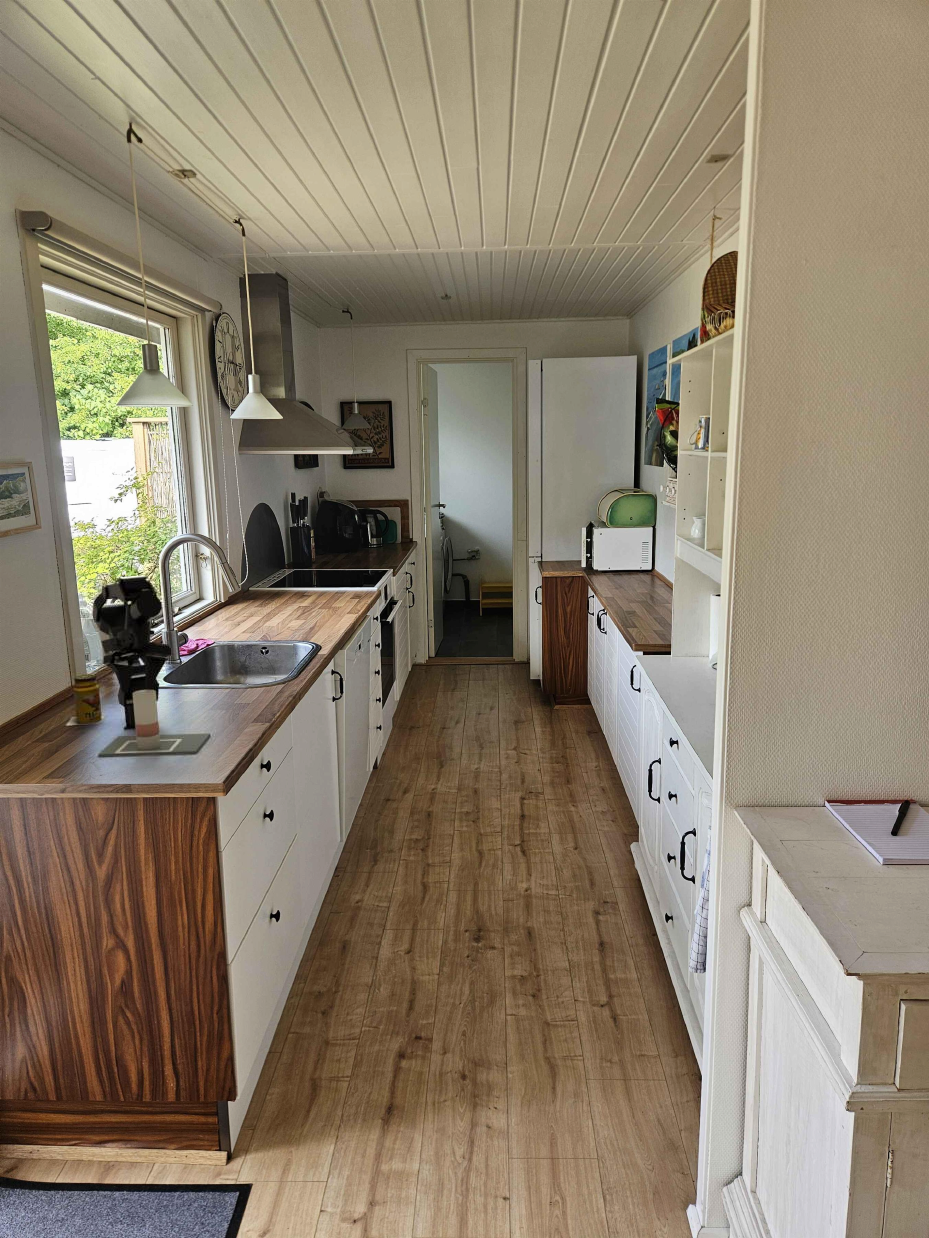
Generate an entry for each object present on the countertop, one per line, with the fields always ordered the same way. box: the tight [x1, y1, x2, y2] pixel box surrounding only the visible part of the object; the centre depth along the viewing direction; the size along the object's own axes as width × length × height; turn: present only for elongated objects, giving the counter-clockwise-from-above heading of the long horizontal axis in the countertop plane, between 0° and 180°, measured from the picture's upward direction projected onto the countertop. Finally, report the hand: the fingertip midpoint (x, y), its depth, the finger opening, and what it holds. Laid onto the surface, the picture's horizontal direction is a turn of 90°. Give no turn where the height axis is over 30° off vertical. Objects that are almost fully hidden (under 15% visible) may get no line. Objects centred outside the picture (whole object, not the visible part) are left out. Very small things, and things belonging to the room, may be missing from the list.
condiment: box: [65, 673, 106, 727], centre depth 217 cm, size 7×8×12 cm
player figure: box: [133, 690, 160, 750], centre depth 194 cm, size 5×5×13 cm
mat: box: [97, 733, 211, 758], centre depth 197 cm, size 22×13×1 cm, turn 93°
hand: (136, 690), depth 198 cm, fingers open, 9 cm apart
